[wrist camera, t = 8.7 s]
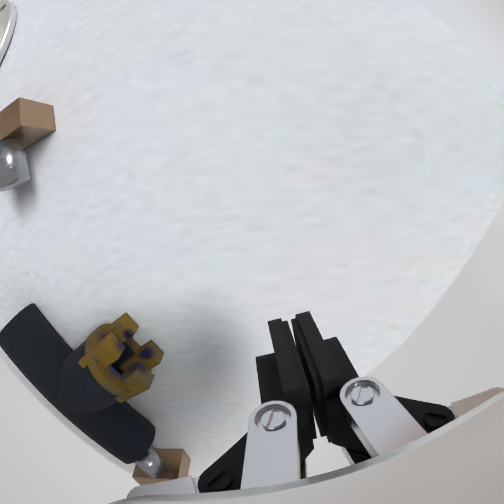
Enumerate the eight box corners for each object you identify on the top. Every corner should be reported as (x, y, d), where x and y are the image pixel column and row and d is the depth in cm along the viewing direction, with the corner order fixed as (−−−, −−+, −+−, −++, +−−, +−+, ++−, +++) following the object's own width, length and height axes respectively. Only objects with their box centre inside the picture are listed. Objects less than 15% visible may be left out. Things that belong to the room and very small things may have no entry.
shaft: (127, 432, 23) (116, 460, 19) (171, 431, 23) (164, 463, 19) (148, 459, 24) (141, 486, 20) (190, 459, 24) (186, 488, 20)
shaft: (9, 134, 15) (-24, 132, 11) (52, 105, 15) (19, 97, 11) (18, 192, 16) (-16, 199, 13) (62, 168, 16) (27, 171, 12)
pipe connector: (38, 274, 13) (206, 442, 16) (81, 249, 18) (213, 392, 21) (-11, 349, 15) (114, 468, 18) (22, 320, 20) (129, 429, 23)
